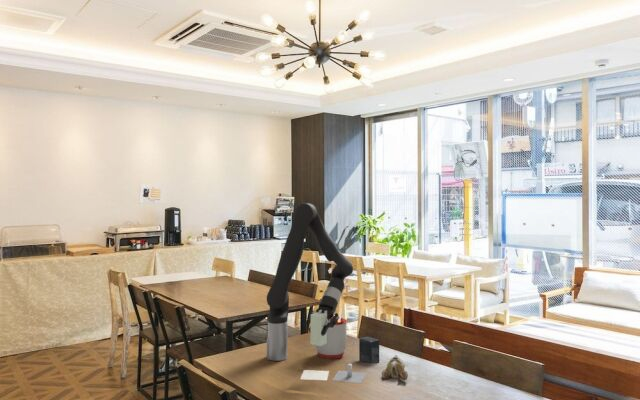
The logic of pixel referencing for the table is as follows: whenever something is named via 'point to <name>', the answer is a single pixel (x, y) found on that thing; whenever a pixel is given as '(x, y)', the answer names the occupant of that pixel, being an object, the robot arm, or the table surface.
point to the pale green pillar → (318, 329)
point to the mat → (314, 375)
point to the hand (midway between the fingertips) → (316, 333)
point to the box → (369, 350)
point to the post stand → (349, 375)
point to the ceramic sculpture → (395, 369)
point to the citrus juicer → (334, 341)
